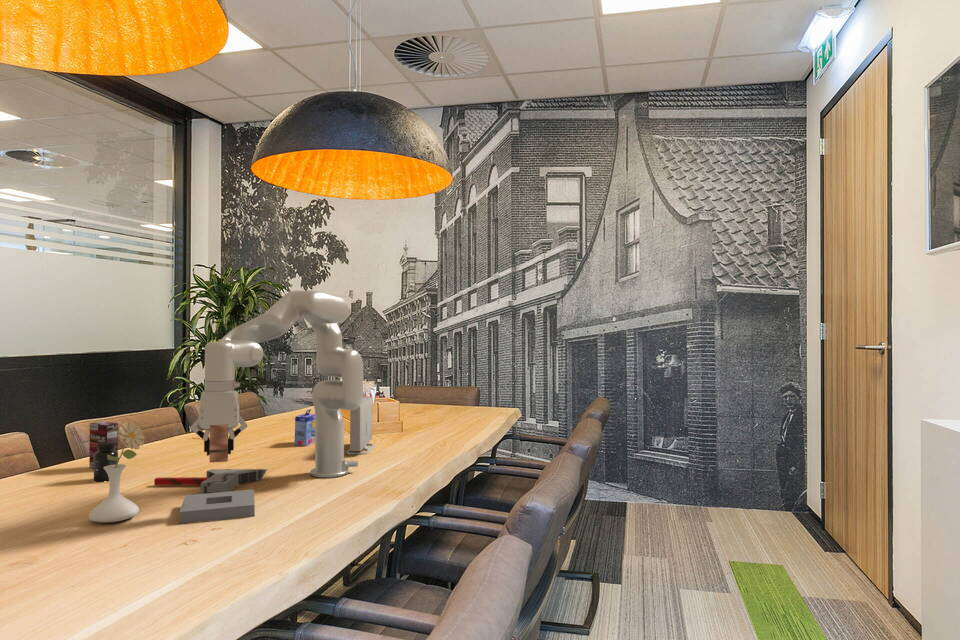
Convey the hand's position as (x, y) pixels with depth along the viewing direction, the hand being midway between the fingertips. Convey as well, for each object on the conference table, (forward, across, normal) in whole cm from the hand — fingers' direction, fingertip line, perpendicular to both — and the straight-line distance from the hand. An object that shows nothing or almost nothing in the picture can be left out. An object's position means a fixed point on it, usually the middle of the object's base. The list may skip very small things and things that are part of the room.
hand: (219, 453), depth 169 cm
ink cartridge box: (+16, -31, -87) cm, 94 cm away
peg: (+2, 0, 0) cm, 2 cm away
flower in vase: (+16, +24, -2) cm, 29 cm away
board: (+16, 0, 0) cm, 16 cm away
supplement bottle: (+16, +35, -48) cm, 62 cm away
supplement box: (+16, +39, -66) cm, 79 cm away
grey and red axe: (+16, +4, -32) cm, 36 cm away
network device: (+16, -51, -68) cm, 86 cm away
